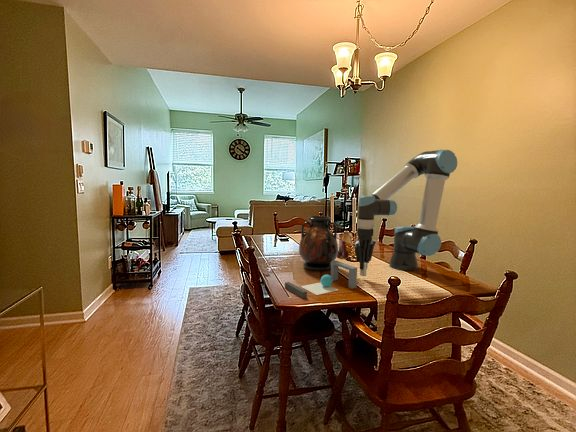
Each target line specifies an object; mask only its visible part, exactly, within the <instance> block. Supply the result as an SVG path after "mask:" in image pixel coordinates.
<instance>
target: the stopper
mask: <svg viewBox="0 0 576 432" xmlns="http://www.w3.org/2000/svg"><path fill="white" fill-rule="evenodd" d="M284 289H286V290H288V291H290V292H291V293H293V294H294V295H296V296H298V297H300V298H302V299H306V298H307V297H308V290H306V289H304V288H302V287H299V286H298V285H295V284H294V283H292V282H290V281H286V282H284Z"/></svg>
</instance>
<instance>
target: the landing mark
mask: <svg viewBox="0 0 576 432" xmlns="http://www.w3.org/2000/svg"><path fill="white" fill-rule="evenodd" d="M299 288H301V289H303V290H305V291H307V292H310V293H311V294H314V296H319V295H324V294H328V293H333V292H337V291H339V289H337V288H336V287H334V286H332V285H331V286H329V287H324V286H323V285H322V284H321V281H320V282H314V283H311V284H306V285H300V287H299Z"/></svg>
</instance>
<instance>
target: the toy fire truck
mask: <svg viewBox="0 0 576 432" xmlns="http://www.w3.org/2000/svg"><path fill="white" fill-rule="evenodd" d="M346 244H347V243H346V241H344V240H343V239H341V238H340V239H339V241H338V255H337V257H336V259H337V258H341V257H343V258H345V259H347V257H348V258H349V257H350V256H349V255H350V254H349V253H350V252H349V250H347V249H346V248H347V247H346Z"/></svg>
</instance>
